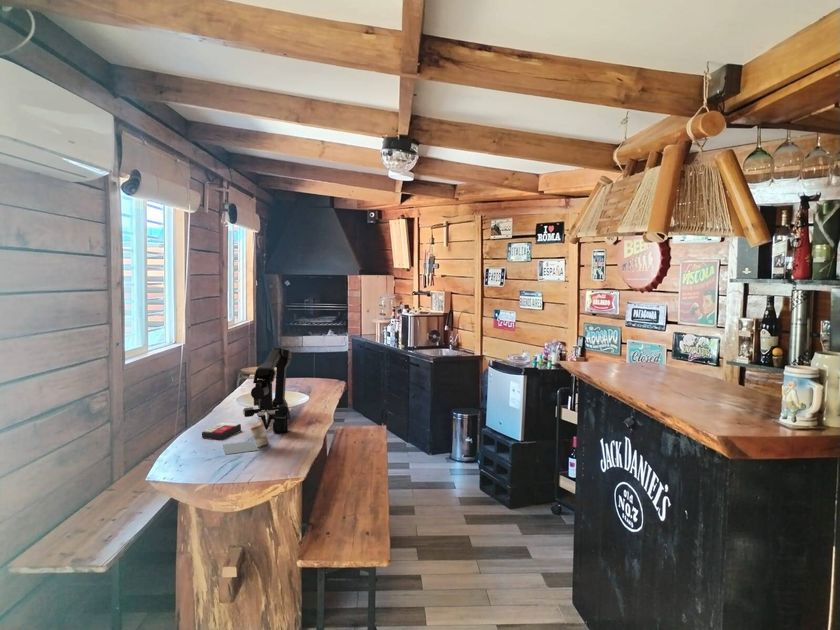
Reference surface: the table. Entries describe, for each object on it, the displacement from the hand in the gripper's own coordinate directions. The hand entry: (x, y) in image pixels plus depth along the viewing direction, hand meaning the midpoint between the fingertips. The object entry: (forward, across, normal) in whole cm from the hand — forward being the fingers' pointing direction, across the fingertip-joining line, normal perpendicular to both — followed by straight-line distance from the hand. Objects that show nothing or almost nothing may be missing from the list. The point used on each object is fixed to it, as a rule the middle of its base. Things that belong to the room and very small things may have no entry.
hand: (266, 429), depth 236 cm
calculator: (+7, +17, -25) cm, 31 cm away
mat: (+7, +11, 0) cm, 13 cm away
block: (+6, +2, 0) cm, 6 cm away
